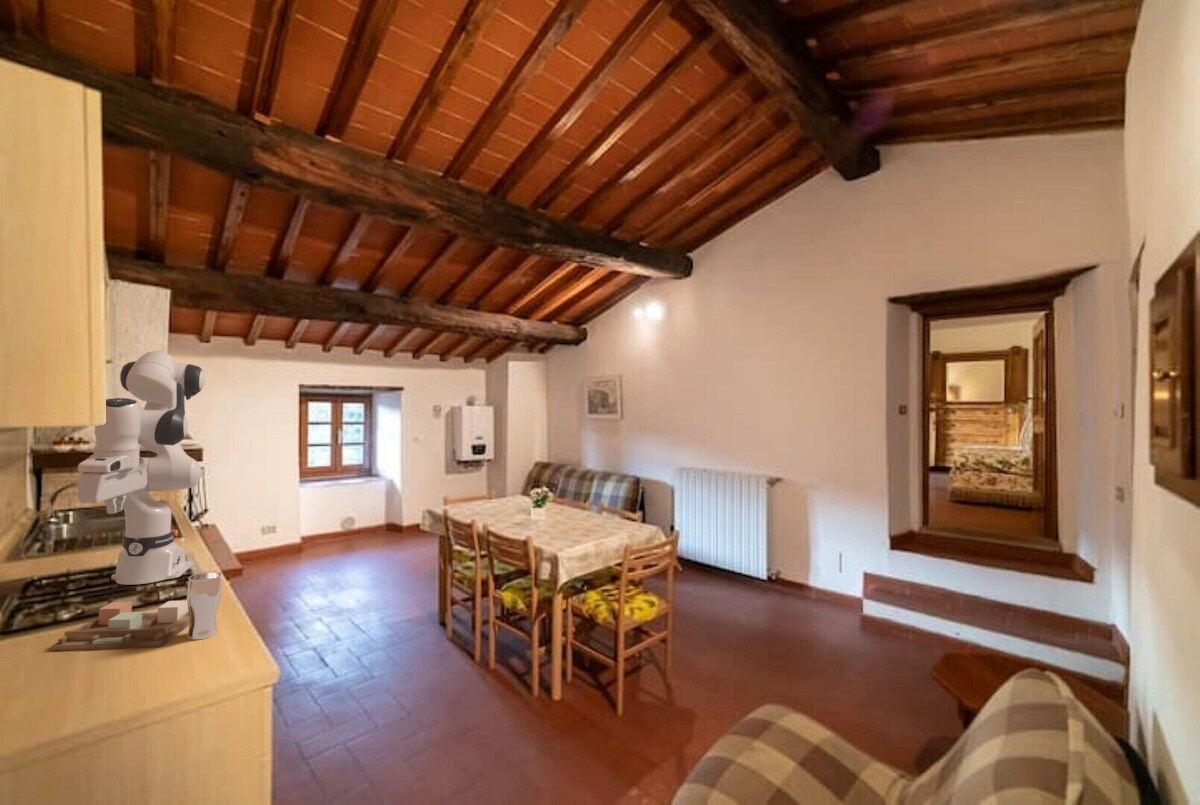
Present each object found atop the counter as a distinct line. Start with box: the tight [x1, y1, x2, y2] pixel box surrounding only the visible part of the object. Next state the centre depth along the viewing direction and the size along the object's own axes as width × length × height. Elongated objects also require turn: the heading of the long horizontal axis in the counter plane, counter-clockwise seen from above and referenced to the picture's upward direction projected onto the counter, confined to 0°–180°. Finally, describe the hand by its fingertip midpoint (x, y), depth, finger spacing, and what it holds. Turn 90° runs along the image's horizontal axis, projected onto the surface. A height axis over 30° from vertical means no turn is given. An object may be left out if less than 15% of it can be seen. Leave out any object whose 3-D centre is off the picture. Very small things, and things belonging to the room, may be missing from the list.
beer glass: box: [186, 571, 223, 641], centre depth 131 cm, size 7×7×15 cm
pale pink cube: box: [157, 600, 188, 623], centre depth 136 cm, size 4×4×4 cm
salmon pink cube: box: [98, 601, 133, 625], centre depth 133 cm, size 4×4×4 cm
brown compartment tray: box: [50, 611, 190, 652], centre depth 130 cm, size 18×22×3 cm
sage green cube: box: [108, 611, 143, 630], centre depth 127 cm, size 4×4×4 cm
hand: (114, 512), depth 136 cm, fingers closed
